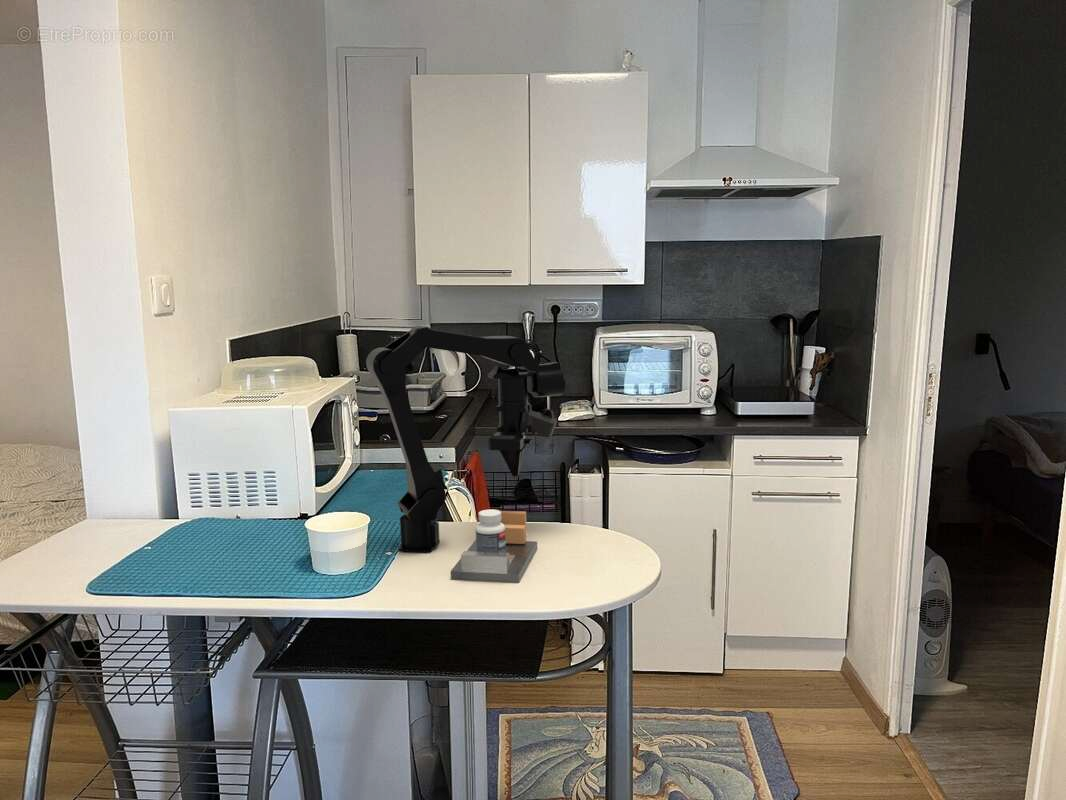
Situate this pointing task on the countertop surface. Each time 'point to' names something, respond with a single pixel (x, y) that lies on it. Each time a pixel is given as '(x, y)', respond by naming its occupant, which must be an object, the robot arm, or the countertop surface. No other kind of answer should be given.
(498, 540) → the pill bottle
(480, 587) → the countertop surface
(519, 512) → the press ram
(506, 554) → the silver frame
